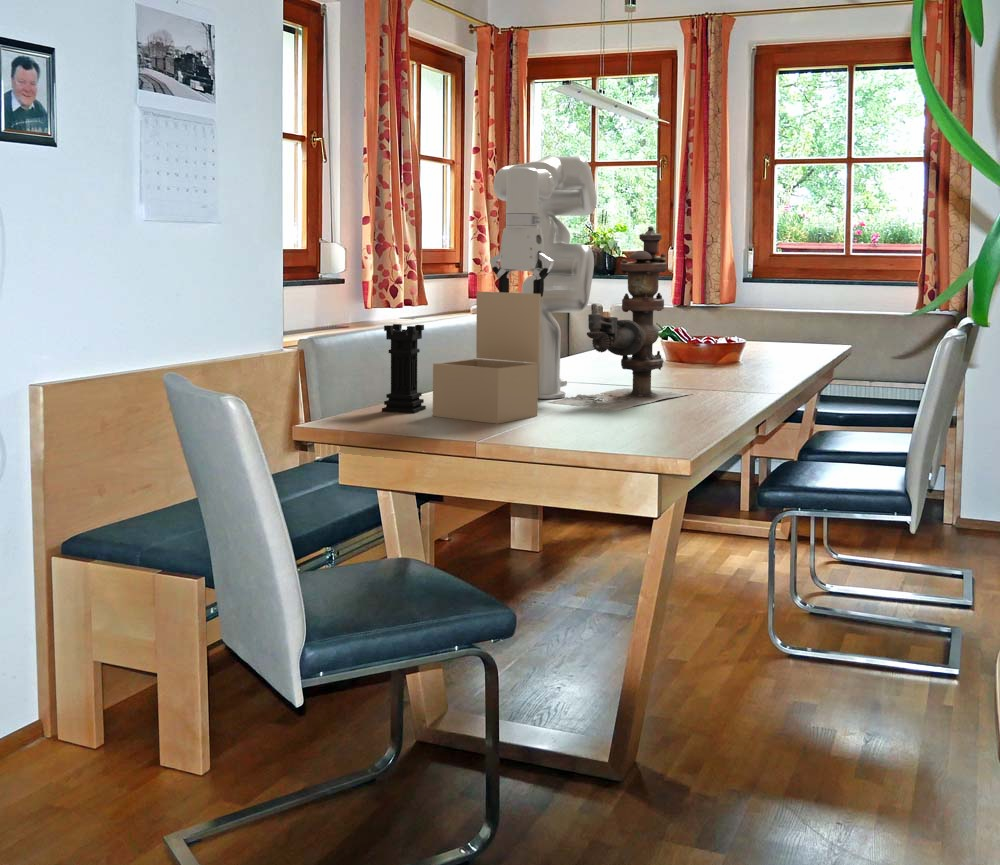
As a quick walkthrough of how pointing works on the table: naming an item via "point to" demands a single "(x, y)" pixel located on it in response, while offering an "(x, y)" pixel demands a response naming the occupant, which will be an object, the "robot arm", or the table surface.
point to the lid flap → (508, 326)
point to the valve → (631, 332)
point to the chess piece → (403, 369)
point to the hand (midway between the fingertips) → (520, 295)
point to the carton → (485, 390)
